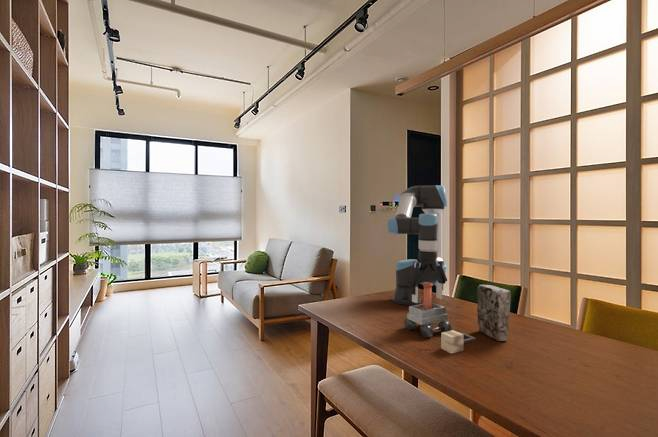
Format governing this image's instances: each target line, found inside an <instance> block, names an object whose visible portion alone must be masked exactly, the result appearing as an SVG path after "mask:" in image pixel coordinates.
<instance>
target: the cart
mask: <svg viewBox="0 0 658 437" xmlns="http://www.w3.org/2000/svg"><path fill="white" fill-rule="evenodd" d="M446 310H447V308H446V306H443V305H441V304H437V303H436V302H435V303H434V302H432V303H431V309H427V310H424V303H422V304H421V303H419V304H416V305H408V312H407V313H406V317H405V318H404V320H403V325H404V327H405V329H406V330H408V331H411V330H415V329H416V328H417V324H418V325H420V328H419V331H420V332H419V333H420V335H421V336H422V338H425V339H427V338H430V337H433V335H434V331H438V330H439V332H440V333H442V332H447V331H451V330H452V325H451V323H450V321H449V320H448V314H447V312H446ZM434 323H438V324H437V327H434V328H433V324H434Z"/></svg>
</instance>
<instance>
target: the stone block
mask: <svg viewBox="0 0 658 437" xmlns="http://www.w3.org/2000/svg"><path fill="white" fill-rule="evenodd" d="M476 294H477V295H476V300H477V306H476V307H477V308H476V310H477V326H478V332H480V333H482V334H484V335H485V336H487V337H490V338H491V339H493V340H495V341H497V342H507V341H508V338H509V327H510V315H511V314H510V311H511V299H512V298H511V297H512V296H511V295H512V294H511V291H510V290H508V289H505V288H503V287H502V288H501V287H498V286H496V285H492V284H491V285H490V284H479V285H478V286H477V290H476Z"/></svg>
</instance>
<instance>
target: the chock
mask: <svg viewBox="0 0 658 437" xmlns="http://www.w3.org/2000/svg"><path fill="white" fill-rule="evenodd" d="M440 333H441V332H440ZM461 333H462V332H459V331H456V330H453V329H451V331H447V332H442V333H441V334H440V336H441V337H440V349H441V350H443V351H446V353H449V354H455V353H460V352H463V351H464V344H465V343H464V337H465V336H464V334H461Z"/></svg>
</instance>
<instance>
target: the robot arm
mask: <svg viewBox="0 0 658 437" xmlns="http://www.w3.org/2000/svg"><path fill="white" fill-rule="evenodd" d="M397 201H398V206H397V209H396V212H395V215H394V216H393V217H392V216H391V217H389V218H388V219H387V223H386V224H387V228H386V229H387V232H388V233H389V234H395V235H397V234H399V235H418V249H419V250H418V253H417V254H418V259H413V258H412V259H411V258H410V259H402V260H399V261H397V262H396V264H395V265H396V266H395V272H396V273H395V290H394V292H393V296H392V302H394V303H395V304H398V305H406V306H414V305H420V304H421V296H420V293H419V287H418V285H419V284H420V285H423V283H424V282H430V283H433V286H435V287H436V288H435V289H436V293H435V294H436V296H435V297H436V299H440V300H442V299H443V290H444V285H445V284H446V282H448V278H447V276H446V272H447V271H446V270H447V263H445V261H444V259H443V258H442V213H443V212H444V211H445V208H447V207H448V203H447V202H448V201H447V194H446V187H445V186H444V185H441V184H440V185H437V184H436V185H435V184H433V185H415V186H414V185H413V186H411V187H409V188H407V189H405V190H404V191H403V192H402V193H401V194H400V195H399V197H398V200H397ZM415 207H416V208H417V207H418V208H420V207H421V210H422V211H423V213H420V214H418V217H412V214H413V210H414V208H415ZM418 260H419V261H418Z"/></svg>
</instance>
